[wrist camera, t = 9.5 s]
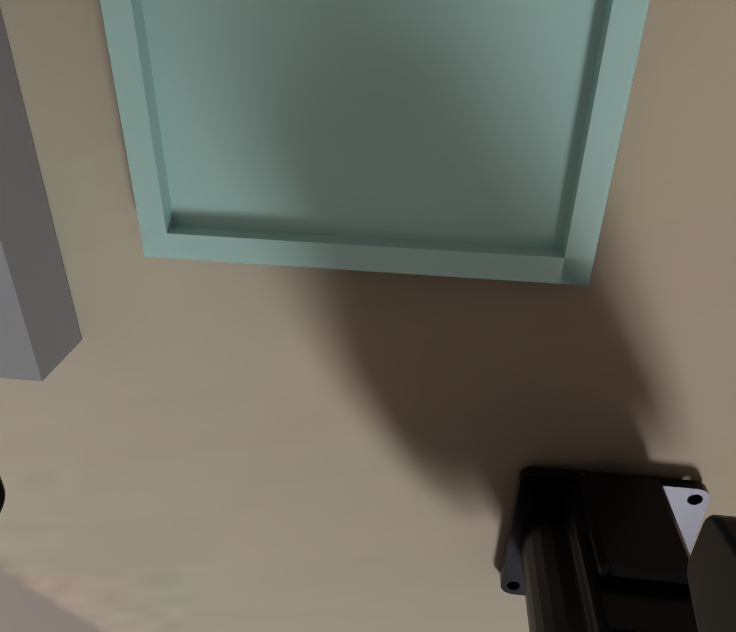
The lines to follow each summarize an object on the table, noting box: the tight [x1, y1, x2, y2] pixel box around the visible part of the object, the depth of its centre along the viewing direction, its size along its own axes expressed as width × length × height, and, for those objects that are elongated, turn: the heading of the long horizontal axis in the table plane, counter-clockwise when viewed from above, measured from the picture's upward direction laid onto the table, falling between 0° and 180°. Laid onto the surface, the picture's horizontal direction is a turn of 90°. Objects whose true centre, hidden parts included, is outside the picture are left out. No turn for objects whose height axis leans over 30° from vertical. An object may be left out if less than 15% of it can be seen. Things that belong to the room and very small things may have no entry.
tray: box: [100, 0, 650, 286], centre depth 16 cm, size 13×10×1 cm
